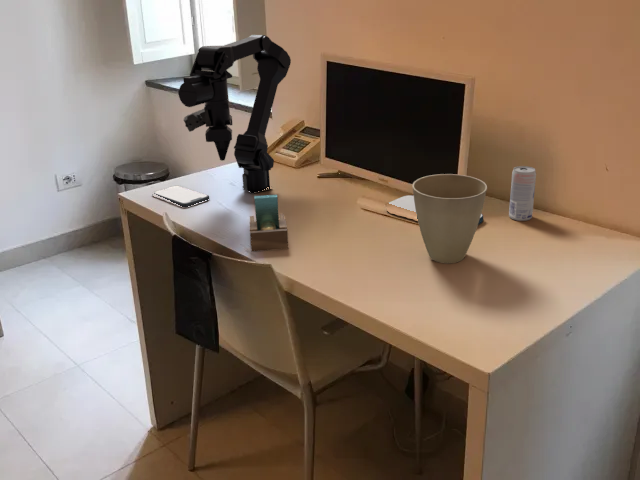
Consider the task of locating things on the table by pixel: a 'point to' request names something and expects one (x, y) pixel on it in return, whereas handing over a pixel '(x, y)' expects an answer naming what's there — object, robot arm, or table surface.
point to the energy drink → (522, 193)
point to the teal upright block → (267, 212)
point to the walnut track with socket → (269, 236)
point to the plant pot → (448, 213)
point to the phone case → (182, 195)
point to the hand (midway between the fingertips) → (222, 160)
